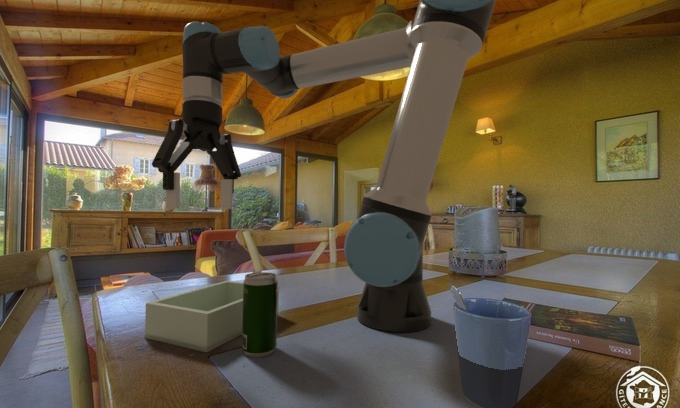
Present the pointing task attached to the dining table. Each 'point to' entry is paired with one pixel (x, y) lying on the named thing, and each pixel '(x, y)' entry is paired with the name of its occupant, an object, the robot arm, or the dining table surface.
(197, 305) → the box
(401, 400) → the dining table surface
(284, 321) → the dining table surface
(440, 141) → the robot arm
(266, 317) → the beer can
